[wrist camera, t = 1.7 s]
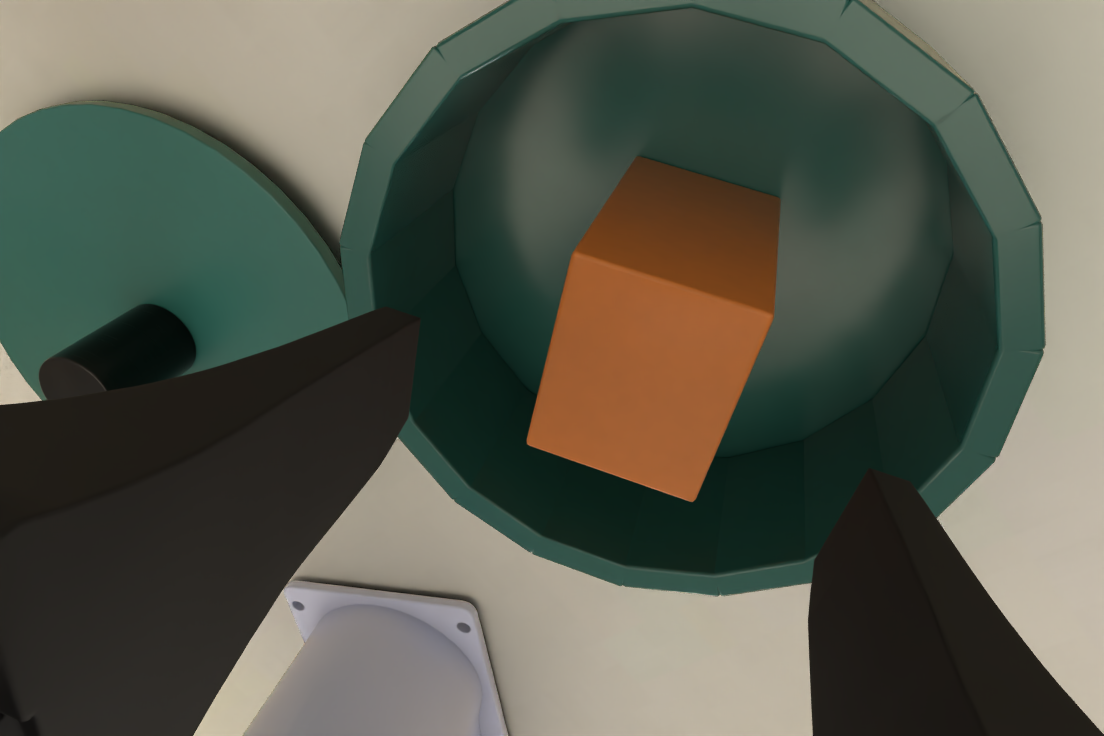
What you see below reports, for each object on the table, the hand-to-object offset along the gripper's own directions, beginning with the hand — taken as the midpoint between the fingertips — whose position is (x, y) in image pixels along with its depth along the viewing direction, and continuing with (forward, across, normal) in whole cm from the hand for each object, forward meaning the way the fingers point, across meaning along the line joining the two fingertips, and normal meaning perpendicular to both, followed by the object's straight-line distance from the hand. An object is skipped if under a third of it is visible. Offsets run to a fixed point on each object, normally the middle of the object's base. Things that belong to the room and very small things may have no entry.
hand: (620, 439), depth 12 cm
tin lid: (+8, +14, +7) cm, 18 cm away
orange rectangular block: (+8, 0, 0) cm, 8 cm away
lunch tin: (+8, 0, 0) cm, 8 cm away
